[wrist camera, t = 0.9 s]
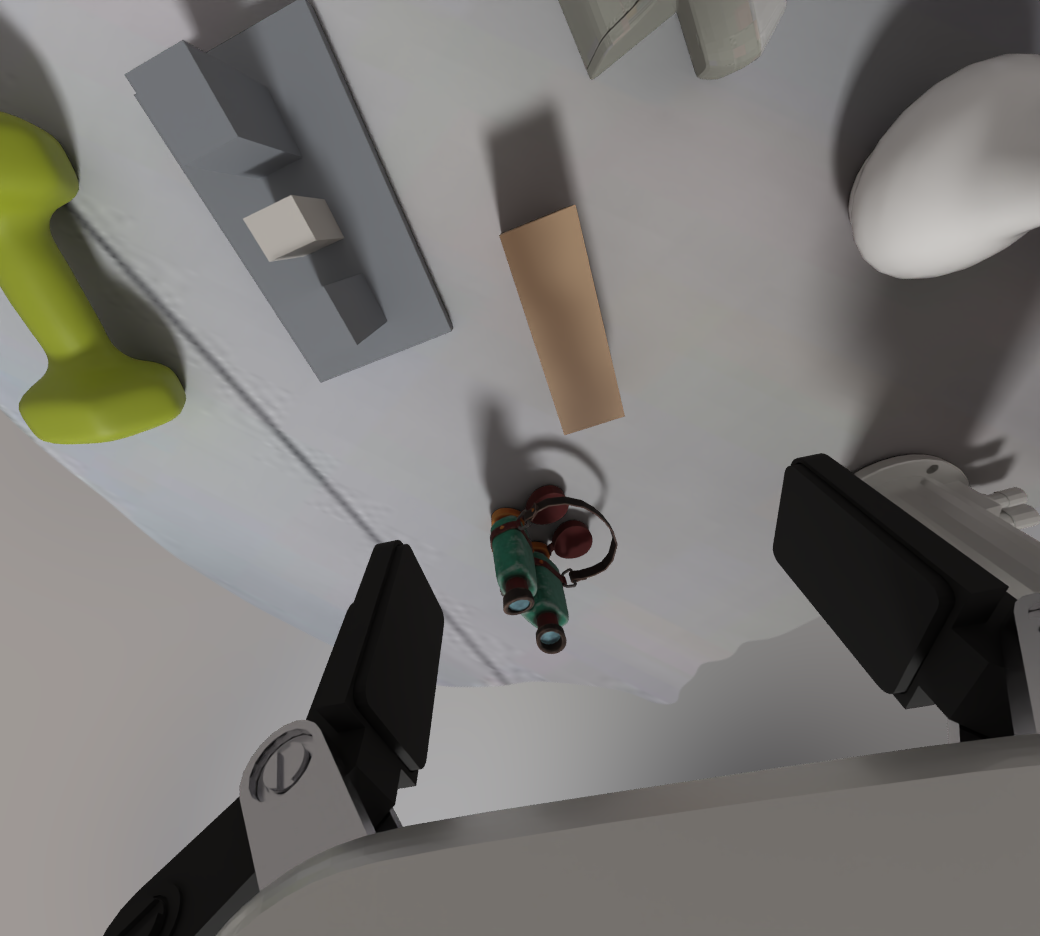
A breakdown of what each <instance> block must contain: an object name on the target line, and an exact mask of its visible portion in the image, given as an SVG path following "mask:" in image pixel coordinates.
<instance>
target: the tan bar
mask: <svg viewBox="0 0 1040 936" xmlns="http://www.w3.org/2000/svg"><path fill="white" fill-rule="evenodd" d="M499 236H500V239H501V242H502V245H503V248H504V251H505V254H506V257H507V261H508V264H509V267H510V270H511V273H512V276H513V279H514V282H515V285H516V288H517V291H518V294H519V297H520V300H521V303H522V306H523V309H524V313H525V316H526V319H527V322H528V325H529V328H530V331H531V334H532V337H533V340H534V343H535V346H536V349H537V352H538V355H539V358H540V362H541V365H542V368H543V371H544V374H545V377H546V380H547V383H548V386H549V389H550V392H551V395H552V398H553V401H554V404H555V407H556V410H557V414H558V417H559V420H560V423H561V426H562V429H563V432H564V435H567V434H570V433H573V432H576V431H580V430H583V429H586V428H589V427H592V426H595V425H599V424H602V423H605V422H608V421H611V420H614V419H618V418H621V417H624V416H625V415H624V411H623V406H622V402H621V398H620V394H619V389H618V385H617V381H616V376H615V372H614V368H613V364H612V359H611V355H610V351H609V346H608V342H607V338H606V334H605V329H604V325H603V321H602V316H601V312H600V308H599V303H598V299H597V295H596V291H595V286H594V282H593V278H592V273H591V269H590V265H589V261H588V256H587V252H586V248H585V243H584V239H583V235H582V230H581V226H580V222H579V218H578V213H577V209H576V205H572V206H569V207H566V208H563V209H560V210H558V211H555V212H553V213H551V214H548V215H546V216H543V217H541V218H538V219H536V220H533V221H531V222H529V223H526V224H524V225H521V226H519V227H516V228H514V229H511V230H509V231H507V232H504V233H502V234H500V235H499Z"/></svg>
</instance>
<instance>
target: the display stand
mask: <svg viewBox="0 0 1040 936" xmlns="http://www.w3.org/2000/svg"><path fill="white" fill-rule="evenodd" d="M125 76H126V78H127V79H128V81H129V83H130V84H131V86H132V87H133V89H134V90H135V92H136V94H134V96H135V97H136V99H137V100H138V102H139V104H140V105H141V107H142V108H143V110H144V111H145V113H146V114H147V116H148V117H149V119H150V121H151V122H152V124H153V125H154V127H155V128H156V130H157V131H158V133H159V134H160V136H161V137H162V139H163V141H164V142H165V144H166V145H167V147H168V148H169V150H170V151H171V153H172V154H173V156H174V157H175V159H176V161H177V162H178V164H179V165H180V167H181V168H182V170H183V171H184V173H185V174H186V176H187V177H188V179H189V181H190V182H191V184H192V185H193V187H194V188H195V190H196V191H197V193H198V194H199V196H200V198H201V199H202V201H203V202H204V204H205V205H206V207H207V208H208V210H209V211H210V213H211V214H212V216H213V218H214V219H215V221H216V222H217V224H218V225H219V227H220V228H221V230H222V231H223V233H224V234H225V236H226V238H227V239H228V241H229V242H230V244H231V245H232V247H233V248H234V250H235V251H236V253H237V255H238V256H239V258H240V259H241V261H242V262H243V264H244V265H245V267H246V268H247V270H248V271H249V273H250V275H251V276H252V278H253V279H254V281H255V282H256V284H257V285H258V287H259V288H260V290H261V291H262V293H263V295H264V296H265V298H266V299H267V301H268V302H269V304H270V305H271V307H272V308H273V310H274V311H275V313H276V315H277V316H278V318H279V319H280V321H281V322H282V324H283V325H284V327H285V328H286V330H287V332H288V333H289V335H290V336H291V338H292V339H293V341H294V342H295V344H296V345H297V347H298V348H299V350H300V352H301V353H302V355H303V356H304V358H305V359H306V361H307V362H308V364H309V365H310V367H311V368H312V370H313V372H314V373H315V375H316V376H317V378H318V379H319V381H320V382H324V381H327V380H329V379H332V378H334V377H337V376H339V375H342V374H344V373H347V372H349V371H352V370H354V369H357V368H360V367H362V366H365V365H367V364H370V363H372V362H375V361H377V360H380V359H382V358H385V357H388V356H390V355H393V354H395V353H398V352H400V351H403V350H405V349H408V348H410V347H413V346H415V345H418V344H421V343H423V342H426V341H428V340H431V339H433V338H436V337H438V336H441V335H443V334H446V333H448V332H451V331H452V329H453V326H452V324H451V322H450V319H449V317H448V315H447V312H446V310H445V308H444V306H443V303H442V301H441V299H440V296H439V294H438V292H437V290H436V287H435V285H434V283H433V280H432V278H431V276H430V274H429V271H428V269H427V267H426V265H425V262H424V260H423V258H422V255H421V253H420V251H419V249H418V246H417V244H416V242H415V239H414V237H413V235H412V233H411V230H410V228H409V226H408V223H407V221H406V219H405V217H404V214H403V212H402V210H401V207H400V205H399V203H398V201H397V198H396V196H395V194H394V191H393V189H392V187H391V185H390V182H389V180H388V178H387V175H386V173H385V171H384V169H383V166H382V164H381V162H380V160H379V157H378V155H377V153H376V150H375V148H374V146H373V144H372V141H371V139H370V137H369V134H368V132H367V130H366V128H365V125H364V123H363V121H362V118H361V116H360V114H359V112H358V109H357V107H356V105H355V102H354V100H353V98H352V96H351V93H350V91H349V89H348V86H347V84H346V82H345V80H344V77H343V75H342V73H341V70H340V68H339V66H338V64H337V61H336V59H335V57H334V54H333V52H332V50H331V48H330V45H329V43H328V41H327V39H326V36H325V34H324V32H323V29H322V27H321V25H320V23H319V20H318V18H317V16H316V13H315V11H314V9H313V7H312V5H311V4H310V3H309V2H308V1H307V0H296V1H294V2H293V3H291V4H289V5H287V6H286V7H284V8H282V9H281V10H279V11H277V12H275V13H274V14H272V15H270V16H268V17H267V18H265V19H263V20H262V21H260V22H258V23H256V24H255V25H253V26H251V27H250V28H248V29H246V30H244V31H243V32H241V33H239V34H237V35H236V36H234V37H232V38H231V39H229V40H227V41H225V42H224V43H222V44H220V45H219V46H217V47H215V48H213V49H212V50H210V51H208V52H206V53H205V52H203V51H202V50H200V49H198V48H196V47H194V46H193V45H191V44H189V43H187V42H186V41H184V40H182V41H180V42H178V43H177V44H175V45H173V46H172V47H170V48H168V49H167V50H165V51H163V52H162V53H160V54H158V55H157V56H155V57H153V58H152V59H150V60H148V61H147V62H145V63H143V64H141V65H140V66H138V67H136V68H135V69H133V70H131V71H130V72H128V73H126V74H125Z"/></svg>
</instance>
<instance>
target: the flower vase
mask: <svg viewBox="0 0 1040 936" xmlns="http://www.w3.org/2000/svg"><path fill="white" fill-rule="evenodd" d="M848 210H849V218H850V223H851V225H852V231H853V239H854V241H855V243H856V246H857V248H858V250H859V252H860V254H861V256H862V258H863V259H864V260H865V261H866V262H868V263H869V264H870V265H871V266H872V267H873V268H874V269H875V270H877V271H878V272H881V273H884V274H886V275H889V276H892V277H895V278H899V279H926V278H933V277H938V276H942V275H945V274H949V273H953V272H957V271H961V270H964V269H967V268H969V267H971V266H973V265H975V264H977V263H979V262H981V261H983V260H985V259H987V258H989V257H992V256H994V255H996V254H997V253H999V252H1001V251H1002V250H1004V249H1006V248H1007V247H1008V246H1010V245H1011V244H1013V243H1014V242H1016V241H1017V240H1018V239H1020V238H1021V237H1023V236H1024V235H1025V234H1027V233H1028V232H1029V231H1031V230H1032V229H1035V228H1038V227H1040V54H1004V55H999V56H996V57H993V58H989V59H986V60H983V61H980V62H977V63H973V64H970V65H968V66H966V67H964V68H962V69H960V70H958V71H957V72H955V73H953V74H952V75H950V76H948V77H947V78H945V79H943V80H942V81H940V82H938V83H937V84H935V85H934V86H932V87H931V88H929V89H928V90H927V91H926V92H925V93H924V94H923V95H921V96H920V97H919V98H918V99H917V100H916V101H915V102H913V103H912V104H911V105H910V106H909V107H908V108H907V109H906V110H904V111H903V112H902V113H901V115H900V116H899V117H898V118H897V119H896V121H895V122H894V123H893V124H892V126H891V127H890V128H889V129H888V130H887V132H886V133H885V134H884V135H883V137H882V138H881V139H880V140H879V142H878V143H877V145H876V147H875V149H874V150H873V152H872V153H871V154H870V155H869V156H868V158H867V159H866V160H865V162H864V164H863V166H862V167H861V169H860V171H859V173H858V174H857V176H856V179H855V181H854V184H853V187H852V190H851V193H850V200H849V207H848Z"/></svg>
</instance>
